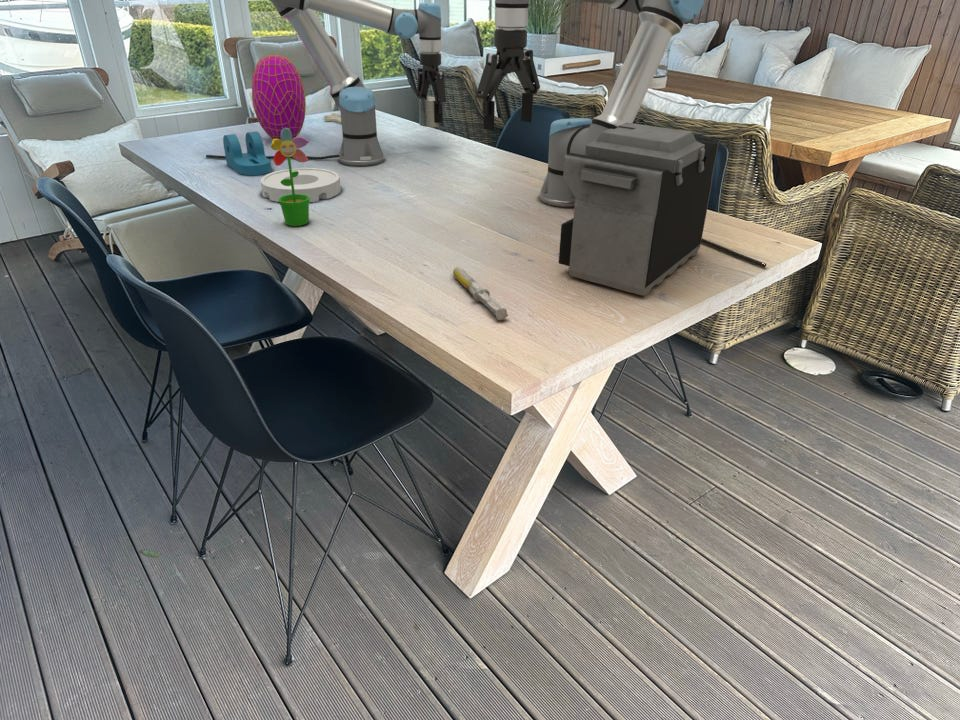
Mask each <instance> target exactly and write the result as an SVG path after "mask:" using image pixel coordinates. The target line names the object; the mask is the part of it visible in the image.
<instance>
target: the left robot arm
mask: <svg viewBox="0 0 960 720" xmlns="http://www.w3.org/2000/svg"><path fill="white" fill-rule="evenodd" d="M269 2H271V3H272V5H273V6H274V8H275V10H276V11H277V13H278V14H279V16H280V18H282V19H285V20H287V21H288V22H289V24H290V25H291V26H292V28H293V30H294V31H295V32H296V34H297V36H298V38H299V39H300V40H301V42H302V44H303V45H304V47H305V48H306V50H307V52H308V54H309V55H310V56H311V58H312V60H313V62H314V63H315V65H316V66H317V67H318V70H319V71H320V72H321V74H322V75H323V77H324V79H325V80H326V82H327V83H328V85H329V87H330V88H329V95H330V97H331V98H332V100H333V102H334V103H335V104H336V106H337V107H338V109H339V112H340V115H341V122H342V123H341V132H342V142H341V145H340V150H339V154H332V155H325V156H309V155H306V156H307V158H308V160H313V161H314V160H315V161H319V160H327V159H336V158H339V159H338V160H339V163H340V164H342V165H345V166H351V167H368V166H375V165H379V164H382V163H383V162H384V160H385V157H384V151H383V150H382V147H381V145H380V142H379V138H378V131H377V114H376V98H375V93H374V91H373V90H372V89H370V88H367V87H365V85H364V83H363V82H362V80H361V78H360V77H359V75H358V74H354V73H352V72H351V70H350V68H349V67H348V66H347V64H346V62H345V60H344V58H343V57H342V55H341V53H340V52H339V50H338V49H337V46H336V45H335V43H334V42H333V40H332V39H331V37H330V35H329V34H328V32H327V31H326V29H325V28H324V26H323V24H322V22H321V21H320V19H319V17H318V16H317V14H316V12H318V13H322V14H326V15H329V16H332V17H336V18H338V19H342V20H345V21H349V22H352V23H355V24H358V25H361V26H365V27H369V28H371V29H375V30H377V31H382V32H384V33H385V34H387V35H388V34H389V35H393V36H398V37H399V38H400V39H404V40H409V39H412V38H413V37H415V35H417V34H418V35H419V37H418V38H419V40H418V41H419V42H418V43H419V44H418V47H419V48H418V49H419V50H418V51H419V52H420V53H419V64H420V66H422V67H417V81H416V97H418V99H419V98H421V97H428V93H429V88H430V85H431V88H432V92H433V97H435V101H436V102H435V103H434V117H435V123H440V122H442V103H443V104H445V103H446V102H447V96H446V88H445V87H446V86H445V72H443V71H440V69H439V67H440V66H441V65H442V54H441V52H442V13H441V11H442V9H441V5H440V4H439V3H437V2H420V3H419V4H418V7H417V8H416V9H415V8H414V9H407V8H406V9H405V8H404V9H402V8H395V7H393V6H390V5H386V4H383V3H379V2H376V1H375V0H374V1H373V0H269ZM315 11H316V12H315ZM265 156H266V158H268V159H269V160H274V159H273V158H274V155H265ZM205 158H209V159H222V160H226V156H225V155H216V154H206V155H205ZM286 159H288V158H287V157H286ZM290 159H293V158H292V157H290Z"/></svg>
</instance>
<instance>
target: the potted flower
mask: <svg viewBox="0 0 960 720" xmlns="http://www.w3.org/2000/svg"><path fill="white" fill-rule="evenodd" d="M280 136H281V140H282V141H281V140H279V139H273V138H272V141H271V145H270V148H271V149H272V150H274V151H275V153H274V155H273V156H274V158H273V159H272V160H273V163H274V165H275V167H277V166H282V164H283V163H285V161H286V159H287V164H288V165H287V166H288V169H289V173H290V179H283V180H282V181H281V184H282V185H284V186H291V188H292V194H290V195H285V196H282V197H280V198H279V202H278V203H279V205H280V207H281V210H282V215H283V219H284V223H285V225H287V226H290V227H291V226H292V227H301V226H304V225H306V224H309V222H310V206H309V205H310V202H309V196H307V195H304V194H295V191H294V183H293V178H294V177H296V176H297V175H298V174H299V172H297V171H294V172H292V169H293V168H292V162H291V161H292V160H291V159H293V160H294V161H296V162H297V163H307V162H309V159H308V158H307V156H308V155H306V153H305V152H303V150H301V148H303V147H305V146H306V145H308V144H309V143H310V140H308V139H307V138H306V137H303V136H299V135H298V136H296V137H295V138H293V139H292V134H291V131H290V130H289V129H288V128H284V129H283V130H282V131H281V134H280ZM286 157H287V158H286ZM290 157H292V158H290Z"/></svg>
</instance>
